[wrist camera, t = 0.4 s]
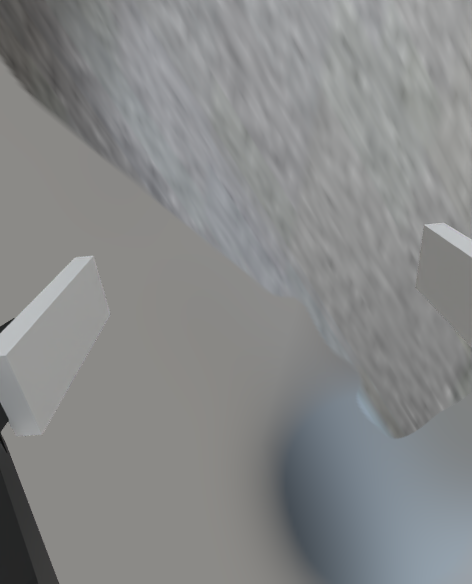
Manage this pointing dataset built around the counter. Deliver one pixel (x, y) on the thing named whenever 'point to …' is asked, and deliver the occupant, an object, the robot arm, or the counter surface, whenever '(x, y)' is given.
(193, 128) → the counter surface
